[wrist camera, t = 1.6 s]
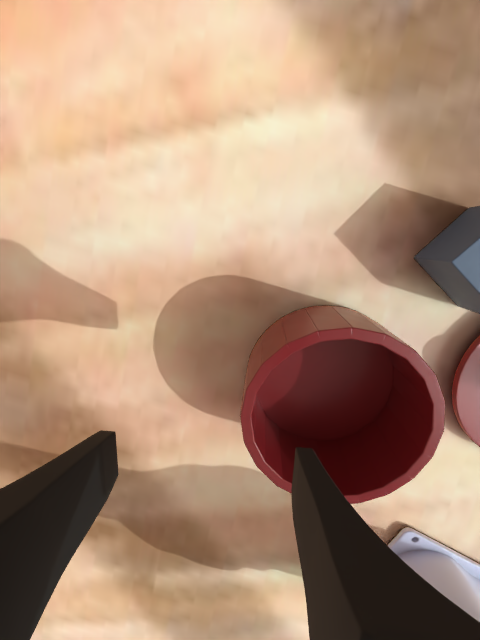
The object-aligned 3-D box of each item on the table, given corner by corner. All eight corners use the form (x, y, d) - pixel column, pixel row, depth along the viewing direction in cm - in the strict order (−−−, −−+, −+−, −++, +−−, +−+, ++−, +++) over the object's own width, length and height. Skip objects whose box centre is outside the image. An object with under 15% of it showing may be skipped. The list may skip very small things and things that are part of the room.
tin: (432, 353, 20) (490, 392, 15) (343, 466, 23) (366, 532, 18) (296, 276, 20) (308, 289, 14) (221, 401, 22) (207, 450, 17)
